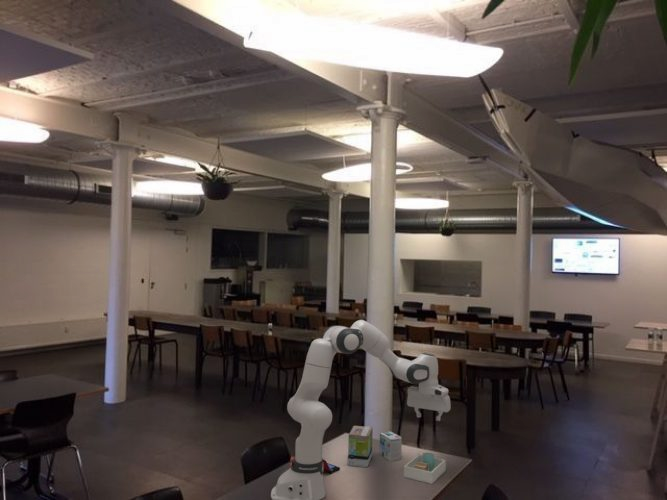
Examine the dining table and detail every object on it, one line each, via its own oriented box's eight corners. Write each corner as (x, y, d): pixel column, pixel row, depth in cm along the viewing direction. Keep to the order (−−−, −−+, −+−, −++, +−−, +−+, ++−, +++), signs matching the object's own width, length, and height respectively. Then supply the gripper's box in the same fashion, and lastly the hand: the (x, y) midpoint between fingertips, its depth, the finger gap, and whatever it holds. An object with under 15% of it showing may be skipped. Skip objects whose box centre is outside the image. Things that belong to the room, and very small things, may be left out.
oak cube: (424, 479, 228) (424, 467, 228) (414, 476, 231) (414, 465, 231) (429, 475, 232) (429, 464, 232) (418, 472, 235) (418, 461, 235)
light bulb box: (379, 454, 260) (379, 432, 260) (390, 452, 263) (390, 430, 263) (390, 461, 250) (390, 439, 250) (402, 459, 253) (402, 437, 253)
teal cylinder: (435, 472, 236) (435, 456, 236) (424, 472, 236) (424, 456, 236) (432, 467, 241) (432, 452, 241) (422, 467, 241) (421, 452, 241)
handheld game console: (341, 470, 240) (341, 453, 240) (325, 477, 232) (325, 460, 232) (321, 463, 248) (321, 447, 248) (305, 469, 240) (305, 453, 240)
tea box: (368, 467, 242) (368, 435, 243) (347, 465, 244) (347, 434, 245) (372, 456, 257) (372, 426, 258) (352, 454, 259) (352, 424, 260)
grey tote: (431, 484, 224) (431, 472, 224) (403, 477, 231) (403, 466, 231) (445, 471, 239) (445, 460, 239) (418, 465, 246) (418, 454, 246)
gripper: (404, 386, 242) (404, 416, 242) (447, 392, 231) (447, 424, 231) (410, 384, 248) (410, 413, 247) (451, 390, 237) (451, 420, 236)
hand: (428, 418), depth 239 cm, fingers open, 8 cm apart
